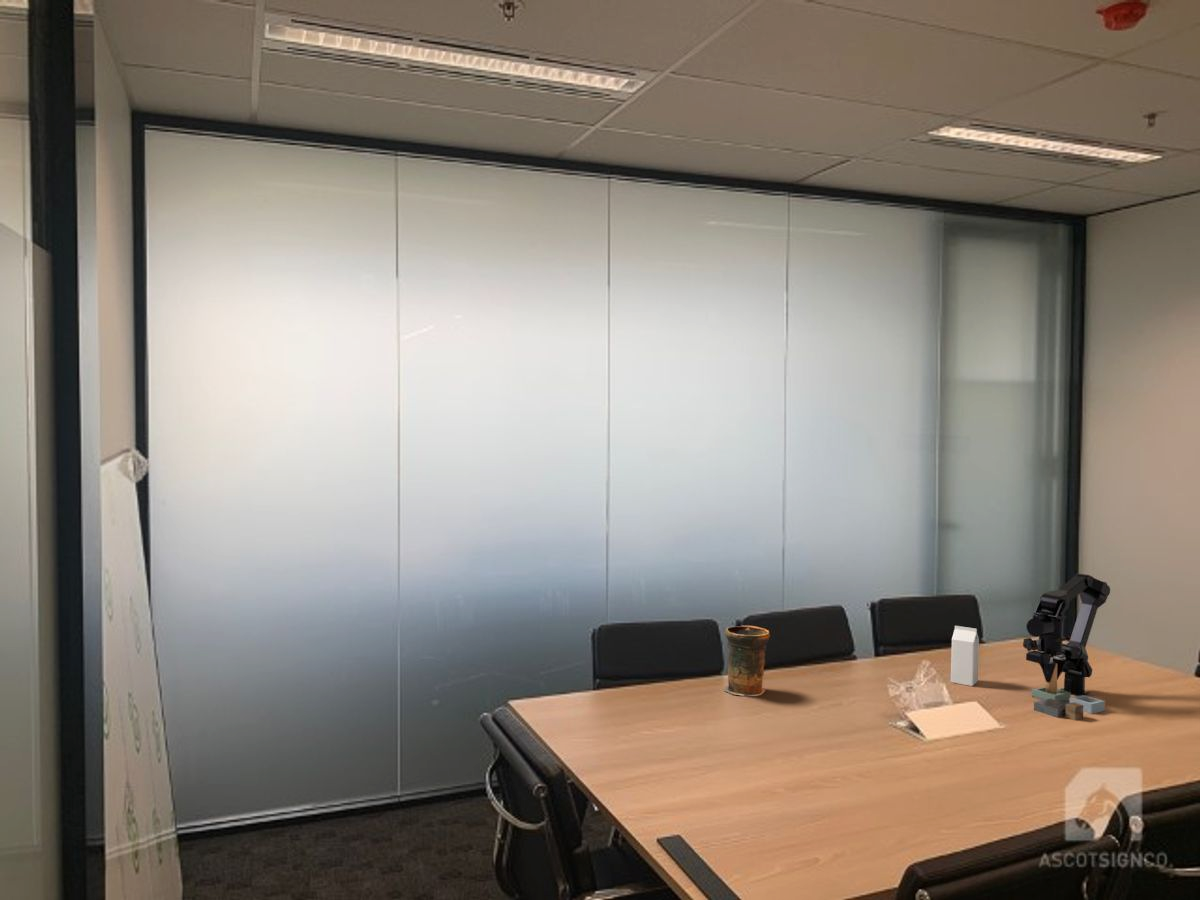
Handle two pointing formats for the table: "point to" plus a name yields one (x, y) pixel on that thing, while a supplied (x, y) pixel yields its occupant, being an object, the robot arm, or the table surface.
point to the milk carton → (964, 656)
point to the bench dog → (1074, 711)
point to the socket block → (1089, 703)
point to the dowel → (1052, 683)
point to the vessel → (746, 659)
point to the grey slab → (1051, 707)
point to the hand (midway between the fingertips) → (1051, 681)
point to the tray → (1043, 695)
